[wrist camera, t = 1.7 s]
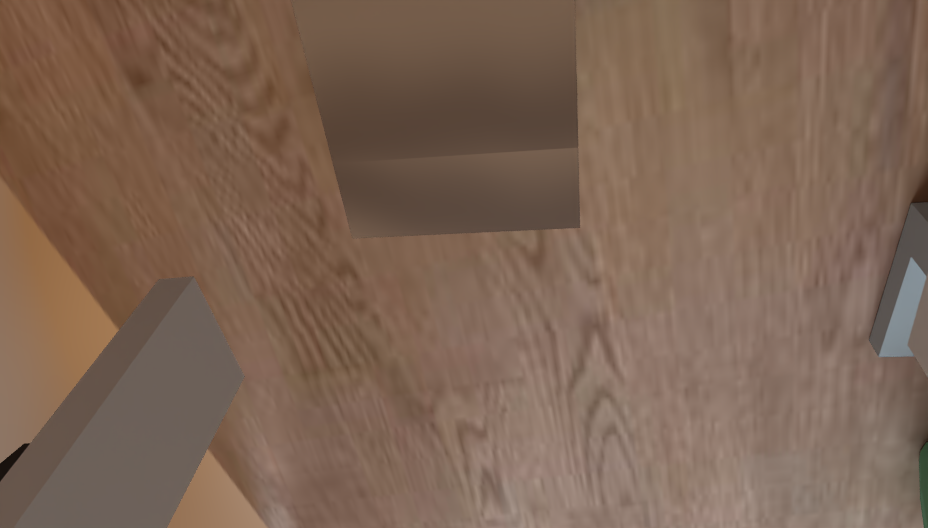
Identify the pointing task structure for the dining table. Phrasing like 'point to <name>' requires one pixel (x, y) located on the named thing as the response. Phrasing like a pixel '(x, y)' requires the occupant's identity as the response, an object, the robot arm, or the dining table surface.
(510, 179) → the brown block
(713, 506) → the dining table surface
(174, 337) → the robot arm
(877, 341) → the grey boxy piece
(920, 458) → the mug
